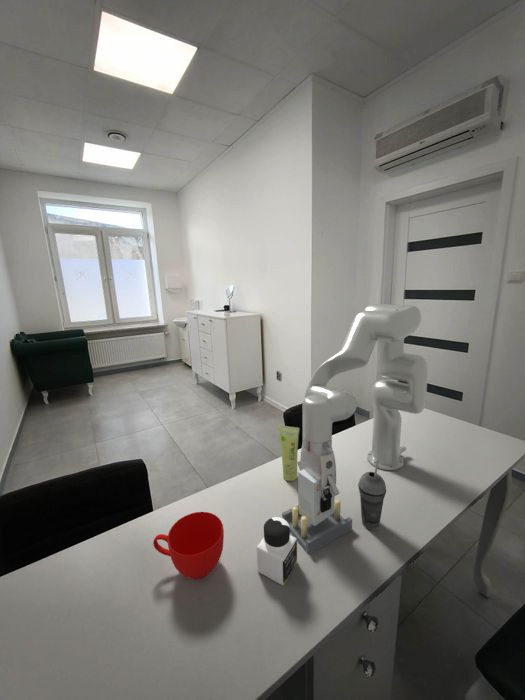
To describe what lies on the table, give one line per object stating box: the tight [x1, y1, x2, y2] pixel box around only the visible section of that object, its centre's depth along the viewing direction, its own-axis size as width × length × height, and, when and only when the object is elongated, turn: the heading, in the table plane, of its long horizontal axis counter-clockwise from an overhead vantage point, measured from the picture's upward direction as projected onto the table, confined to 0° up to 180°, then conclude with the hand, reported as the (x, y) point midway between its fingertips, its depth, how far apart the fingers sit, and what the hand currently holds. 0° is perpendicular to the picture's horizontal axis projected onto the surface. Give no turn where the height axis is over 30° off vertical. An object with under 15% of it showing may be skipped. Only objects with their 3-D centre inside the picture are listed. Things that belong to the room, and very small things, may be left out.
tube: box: [278, 424, 300, 482], centre depth 103 cm, size 6×5×20 cm
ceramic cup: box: [152, 511, 225, 580], centre depth 72 cm, size 13×17×10 cm
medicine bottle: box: [256, 516, 298, 586], centre depth 71 cm, size 7×7×12 cm
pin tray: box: [281, 499, 353, 555], centre depth 83 cm, size 15×12×7 cm
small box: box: [297, 469, 336, 526], centre depth 82 cm, size 8×6×13 cm
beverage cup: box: [357, 461, 387, 531], centre depth 82 cm, size 7×7×20 cm
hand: (316, 501), depth 82 cm, fingers closed on small box, 6 cm apart
